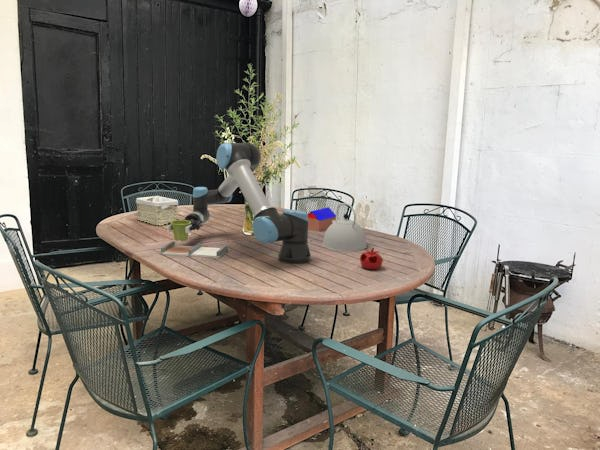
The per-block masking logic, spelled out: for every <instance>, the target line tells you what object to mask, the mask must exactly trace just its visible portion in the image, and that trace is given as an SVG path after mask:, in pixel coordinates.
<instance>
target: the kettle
mask: <svg viewBox="0 0 600 450" xmlns="http://www.w3.org/2000/svg"><path fill="white" fill-rule="evenodd" d="M343 205H345V206H348V207H349V208H350V209H351V211H352V213H353V219H352V220H351V219H349V216H350V215H349V214H348V213H345V214H343V218H344V219H340V217H339V209H340V208H341V206H343ZM356 221H357V218H356V211H355V209H354V208H353V206H352V205H351V204H350V203H346V202H342V203H340V204H339V205H338V206H337V209H336V220H333V221H332V223H333V224H331V225H330V226H329V227H328V229H325V233H324V236H323V241H322V242H323V243H322V247H324V248H326V249H328V250H331V251H332V250H333V251H338V252H358V251H359V250H360V251H364V250H366V249H367V235H366V233H365V230H364V228H363V227H362V226H361V225H360V224H358V223H357V222H356ZM365 248H366V249H365ZM363 249H364V250H363Z"/></svg>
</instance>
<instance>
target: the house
mask: <svg viewBox="0 0 600 450" xmlns="http://www.w3.org/2000/svg"><path fill="white" fill-rule="evenodd" d="M307 214H308V221H309V222H308V231H313V232H315V231H316V232H322V231H324V230H325V231H326V230H327V229H328V227H329V226H330V225H331V224H333V223H332V221H333V220H336V221H337V214H335V212H334V211H333V210H332V209H331V208H330V207H329V206H328V207H324V208H320V209H319V208H318V209H315V210H311V211H310V212H309V213H307Z"/></svg>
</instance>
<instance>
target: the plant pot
mask: <svg viewBox="0 0 600 450" xmlns="http://www.w3.org/2000/svg"><path fill="white" fill-rule="evenodd" d="M190 223H191V222H190V221H187V220H184V219H179V220H176V221H172V222H171V224H172V227H173V230H172V232H173V233H172V234H173V238H174V241H175V242H178V241H179V242H184V241H185V242H186V241H188V240H189V239H188V238H189V232H188V233H186V231H185V227H187V226H189V225H190Z"/></svg>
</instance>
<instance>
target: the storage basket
mask: <svg viewBox="0 0 600 450" xmlns="http://www.w3.org/2000/svg"><path fill="white" fill-rule="evenodd" d="M135 203H136V211H137V218H138V221H139V220H140V221H139V222H141V221H144V222H143V223H145V222H147V223H146V224H149V223H150V225H153V226H158V225H159V226H165V225H164V224H166V225H168V223H169V222H172V221H175V220H177V219H178V207H179V200H178V199H174V198H169V197H164V196H160V195H154V196H145V197H136V199H135Z"/></svg>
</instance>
